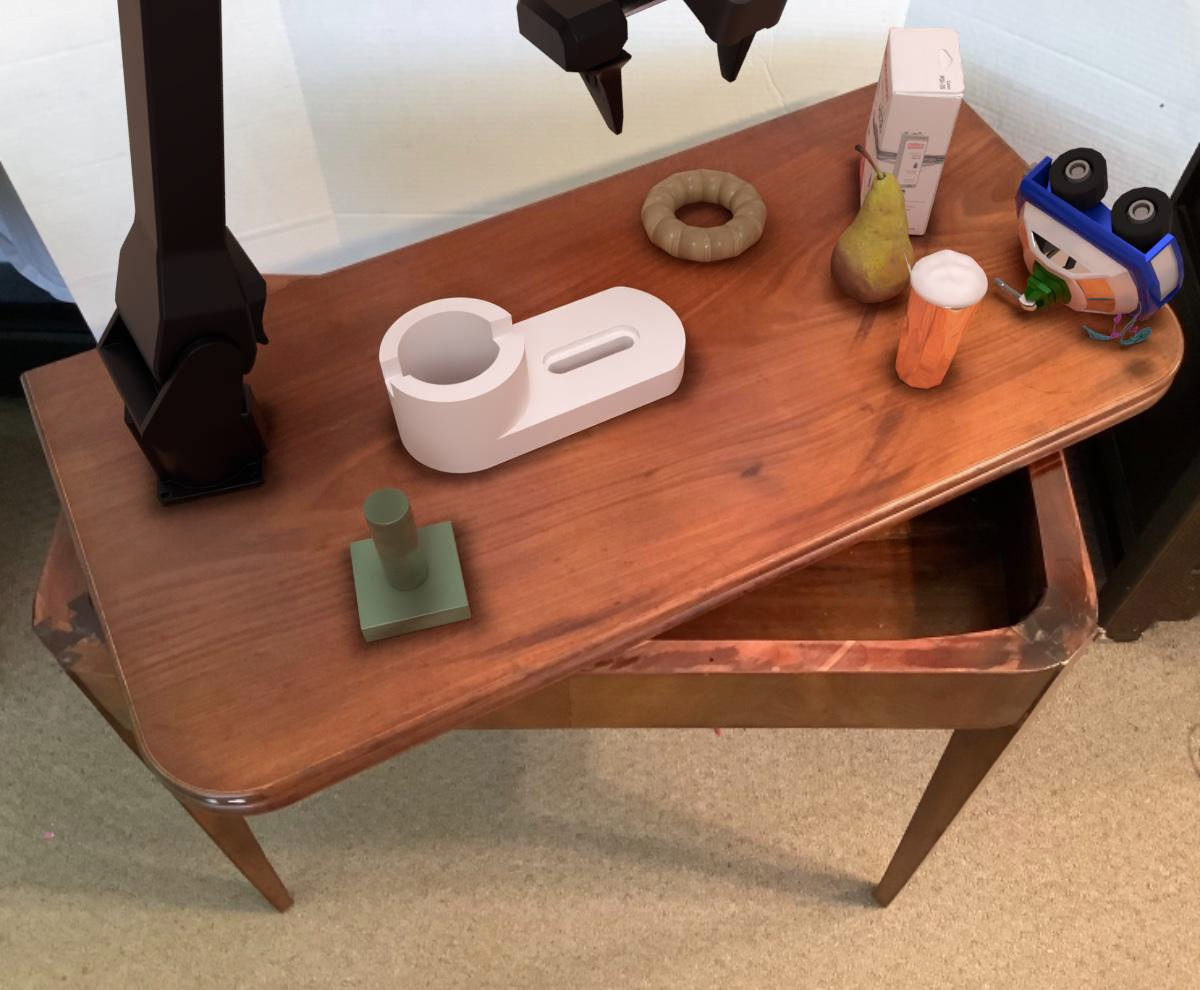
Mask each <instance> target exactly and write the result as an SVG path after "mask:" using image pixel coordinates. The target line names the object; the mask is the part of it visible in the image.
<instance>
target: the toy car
mask: <svg viewBox="0 0 1200 990" xmlns="http://www.w3.org/2000/svg"><path fill="white" fill-rule="evenodd" d="M1108 177H1109V176H1108V166H1107V159H1106V158H1105V157H1104V156H1103V154H1102V152H1100V151H1098V150H1096V149H1095V148H1091V147H1084V146H1083V147H1082V146H1081V147H1076V148H1071V149H1068V150H1066V151H1064V152H1062V153H1061V154H1059V155H1058V156H1057V157H1056V158H1055V159H1054V161H1053V158H1051V156H1049V155H1046V156H1044V157H1043V158H1042V159H1041V160H1040V161H1039V162H1037V161H1036V162H1035V161H1034V162H1032V163H1031V164H1030V165H1029V166H1027V167H1026V169H1024V172H1023V174H1022V176H1021V180H1020V183H1019V186H1018V189H1017V191H1016V194H1015V197H1014V202H1015V203H1014V204H1015V212H1016V213H1015V214H1016V217H1017V220H1018V223H1017V224H1018V226H1017V227H1018V236H1019V239H1020V242H1021V247H1022V252H1023V261H1024V263H1025V266H1026V269H1027V271H1028V272H1029V274H1030V276H1029V277H1028V278H1027V279H1026V287H1025V290H1024V291H1023V293H1022V294H1021V293H1020V292H1018V291H1016V289H1014V288H1012V287H1011V286H1009V285H1008V284H1006V282H1005V281H1004V280H1002V279H1001V278H999V277H998V276H996V277H995V278H994V279H993V281H992V283H994V284H993V286H994V287H995V288H996V289H998V290H1000V291H1001V292H1004V293H1006V294H1007V295H1008V296H1010V297H1012V298H1013V299H1014V300H1016V301H1017V302H1018V303H1019V305H1020V307H1021V309H1022V310H1023V311H1024V312H1027V313H1035V312H1036V311H1040V310H1042V309H1044V308H1049V309H1051V308H1053V307H1054V306H1055V305H1056V304H1059V303H1061V305H1064V306H1066V307H1068V308H1069V309H1071V310H1073V311H1076V312H1085V313H1093V314H1094V313H1095V314H1101V315H1102V314H1103V315H1115V316H1116V315H1118V314H1119V312H1122V314H1121V315H1124V314H1126V315H1128V316H1129V317H1130V318H1132V319H1133V318H1134V316H1136V315H1137V314H1139V312H1140V303H1141V307H1142V308H1141V312H1140V314H1139V315H1138V316H1137V318H1136V317H1135V318H1136V321H1137V322H1143V321H1148V320H1149V319H1150V318H1151V317H1152V316H1153V315H1154V314H1155V313H1157V312H1158V311H1160V309H1161V308H1162V307H1164V306H1165V304H1167V303H1168V302H1169V301H1170V300H1171V299H1172V298H1173V297H1174V296H1175V295H1176V294H1177V293H1178V292H1179V291H1180V289H1181V288H1182V286H1183V282H1184V277H1185V269H1184V260H1183V256H1182V254H1181V253H1182V252H1181V250H1180V247H1179V244H1178V241H1177V238H1176V237H1175V236H1173V235H1172V234H1171V233H1172V230H1173V218H1174V217H1173V215H1174V214H1173V213H1174V211H1173V210H1174V209H1173V201H1172V199H1171V198H1170V196H1168V194H1167V193H1166V192H1164V191H1163V190H1162V189H1161V190H1160V189H1159V188H1157V187H1151V186H1140V187H1135V188H1131V189H1130V190H1128V191H1126V192H1124V193H1122V194H1121V195H1120V196H1119V197H1118V198H1116V200H1115V201H1114V202H1113V203H1112V204H1113V205H1112V207H1111V209H1110V208H1109V207H1108V206H1107V205H1106V204H1105V203H1103V202H1102V200H1103V199H1104V198H1105V197H1106V195H1107V192H1108V189H1109V179H1108ZM1137 300H1139V302H1140V303H1138V301H1137Z"/></svg>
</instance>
